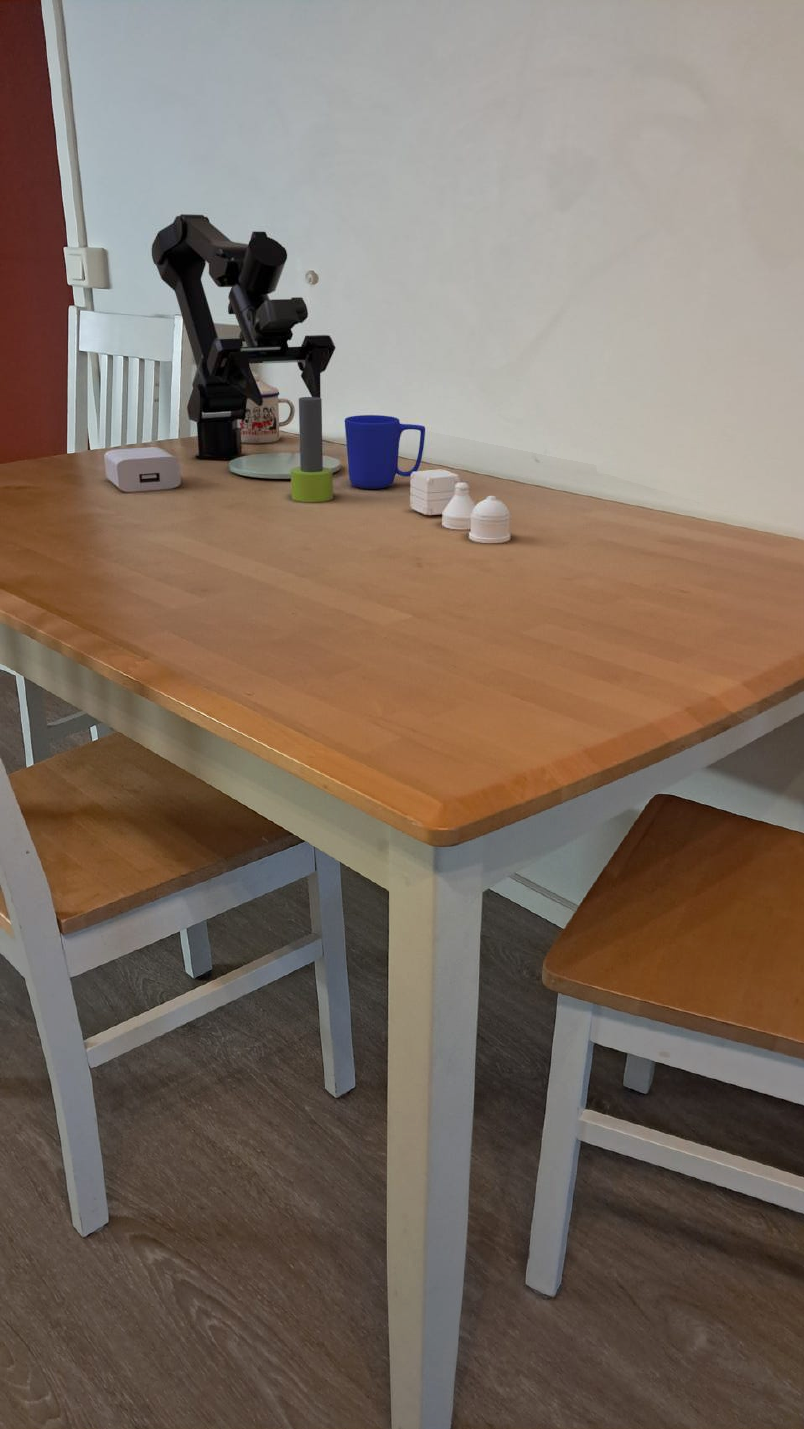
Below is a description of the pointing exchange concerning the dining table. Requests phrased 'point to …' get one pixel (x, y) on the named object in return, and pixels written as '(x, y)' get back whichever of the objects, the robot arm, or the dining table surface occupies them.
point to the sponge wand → (311, 456)
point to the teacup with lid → (263, 416)
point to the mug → (376, 449)
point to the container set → (459, 506)
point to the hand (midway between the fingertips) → (290, 402)
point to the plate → (273, 465)
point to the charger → (142, 469)
